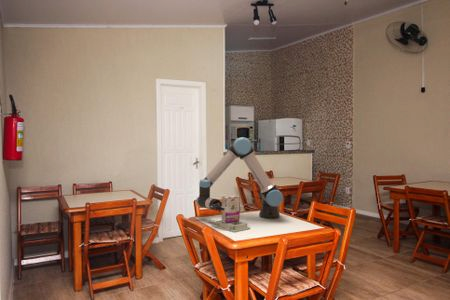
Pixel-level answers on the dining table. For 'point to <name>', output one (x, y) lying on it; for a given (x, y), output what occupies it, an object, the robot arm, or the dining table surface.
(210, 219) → the dining table surface
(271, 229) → the dining table surface
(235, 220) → the candy bar box
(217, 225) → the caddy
